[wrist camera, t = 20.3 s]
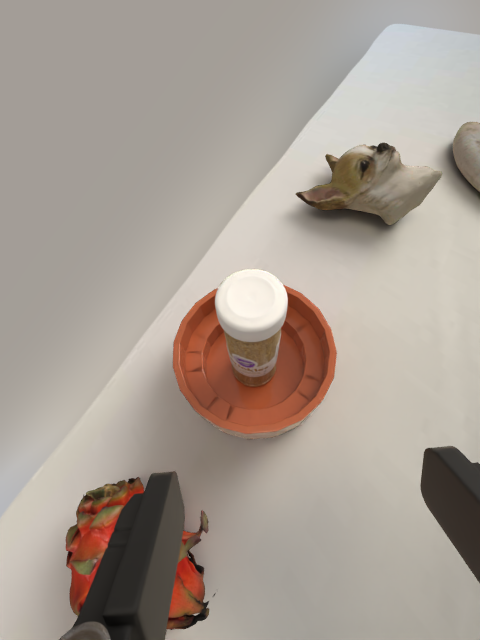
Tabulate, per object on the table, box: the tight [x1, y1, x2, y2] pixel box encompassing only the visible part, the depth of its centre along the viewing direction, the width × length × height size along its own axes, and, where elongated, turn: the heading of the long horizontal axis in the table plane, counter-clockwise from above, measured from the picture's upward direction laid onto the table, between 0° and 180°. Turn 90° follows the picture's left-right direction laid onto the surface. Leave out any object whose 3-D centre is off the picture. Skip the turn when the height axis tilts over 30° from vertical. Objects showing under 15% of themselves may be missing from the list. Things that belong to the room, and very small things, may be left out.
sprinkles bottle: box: [215, 269, 288, 387], centre depth 24 cm, size 5×5×14 cm
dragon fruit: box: [66, 477, 216, 630], centre depth 21 cm, size 8×8×12 cm
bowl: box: [173, 285, 337, 439], centre depth 28 cm, size 14×14×6 cm
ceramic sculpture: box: [296, 143, 442, 225], centre depth 36 cm, size 11×9×15 cm
